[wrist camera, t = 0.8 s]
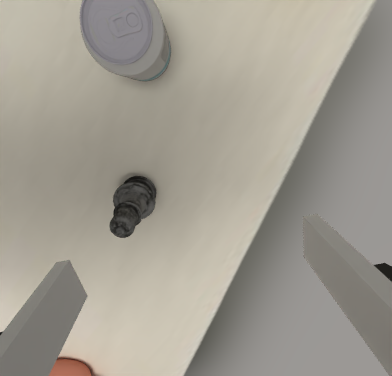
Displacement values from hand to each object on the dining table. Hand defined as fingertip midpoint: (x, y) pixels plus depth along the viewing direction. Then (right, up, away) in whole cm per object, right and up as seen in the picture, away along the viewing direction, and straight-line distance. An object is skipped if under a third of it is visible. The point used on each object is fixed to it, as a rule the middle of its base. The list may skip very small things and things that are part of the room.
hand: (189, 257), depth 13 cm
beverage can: (-6, +21, +16) cm, 27 cm away
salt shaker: (-8, +3, +23) cm, 25 cm away
